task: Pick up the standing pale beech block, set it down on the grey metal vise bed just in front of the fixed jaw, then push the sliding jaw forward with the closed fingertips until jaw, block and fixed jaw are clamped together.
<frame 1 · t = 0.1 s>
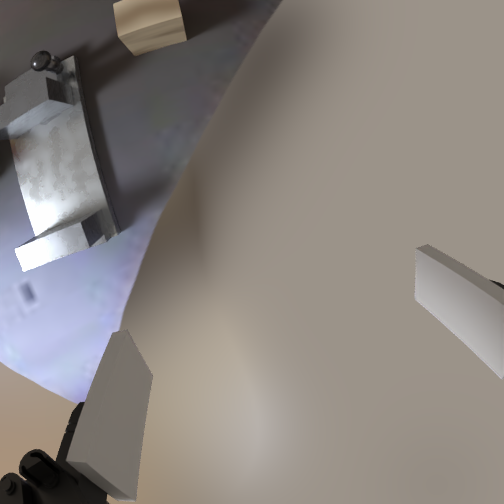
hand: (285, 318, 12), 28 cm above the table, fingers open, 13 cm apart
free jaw: (24, 92, 24), point 6 cm above the table, slide at 0.0 cm
vise bed: (55, 158, 32), on the table
block: (157, 33, 29), on the table
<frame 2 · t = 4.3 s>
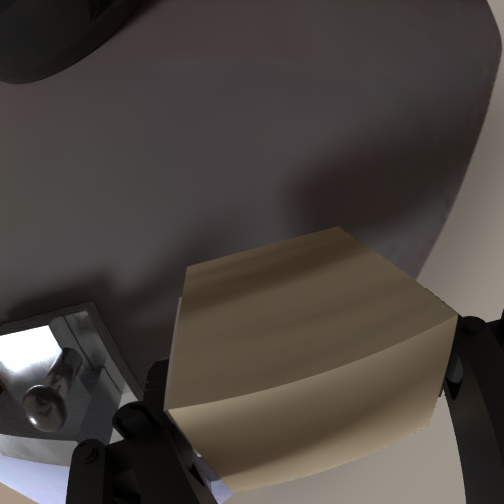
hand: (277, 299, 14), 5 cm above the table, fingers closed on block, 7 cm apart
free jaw: (27, 397, 14), point 6 cm above the table, slide at 0.0 cm
vise bed: (105, 428, 22), on the table
block: (275, 294, 14), point 5 cm above the table, touching gripper
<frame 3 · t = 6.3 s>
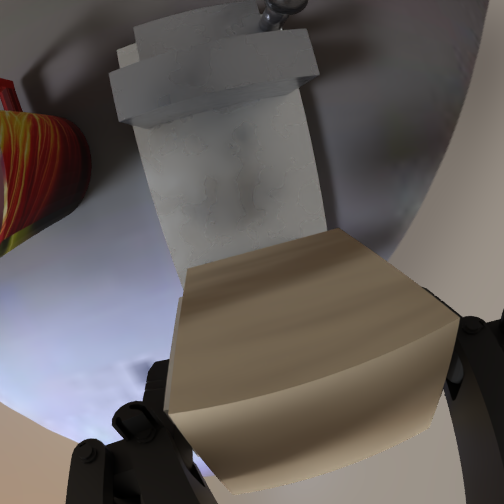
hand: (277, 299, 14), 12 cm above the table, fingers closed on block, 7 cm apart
mug: (33, 157, 20), on the table
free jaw: (211, 42, 15), point 6 cm above the table, slide at 0.0 cm
vise bed: (233, 175, 23), on the table
block: (276, 296, 14), point 12 cm above the table, touching gripper
when the fingers open (3 cm above the table, at t = 8.3 s): block stays where it is, resting on vise bed.
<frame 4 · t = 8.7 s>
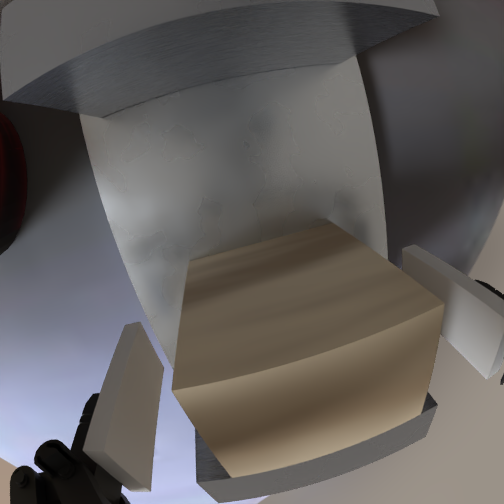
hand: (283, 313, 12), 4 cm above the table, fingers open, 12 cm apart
vise bed: (247, 194, 14), on the table
block: (273, 288, 15), point 1 cm above the table, touching vise bed
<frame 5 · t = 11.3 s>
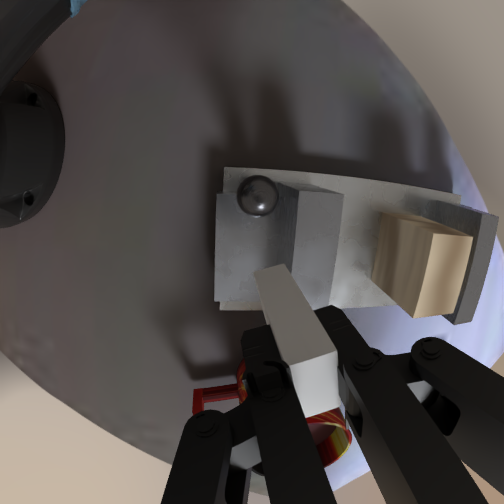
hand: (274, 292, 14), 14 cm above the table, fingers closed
mug: (262, 380, 33), on the table
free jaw: (269, 254, 22), point 6 cm above the table, slide at 0.0 cm
vise bed: (353, 242, 29), on the table
block: (397, 248, 28), point 1 cm above the table, touching vise bed
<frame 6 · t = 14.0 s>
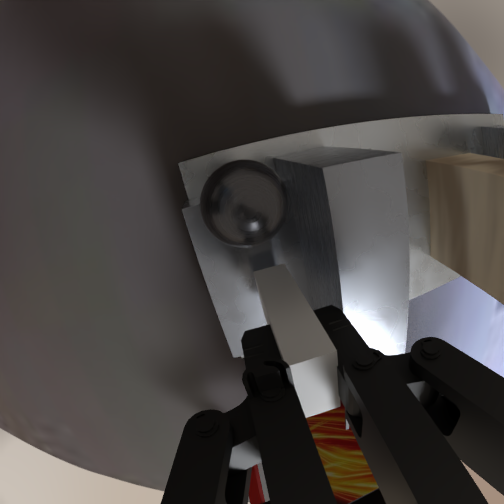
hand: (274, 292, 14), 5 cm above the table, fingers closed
mug: (318, 408, 25), on the table
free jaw: (295, 282, 13), point 6 cm above the table, slide at 0.3 cm, touching gripper
vise bed: (396, 212, 19), on the table
block: (452, 203, 18), point 1 cm above the table, touching vise bed
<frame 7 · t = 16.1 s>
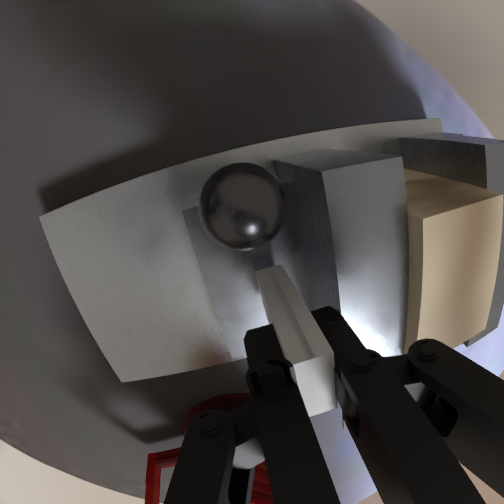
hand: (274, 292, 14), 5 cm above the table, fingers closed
mug: (223, 434, 25), on the table
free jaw: (294, 285, 13), point 6 cm above the table, slide at 9.5 cm, touching block, gripper
vise bed: (271, 250, 18), on the table
block: (376, 230, 17), point 2 cm above the table, touching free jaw, vise bed
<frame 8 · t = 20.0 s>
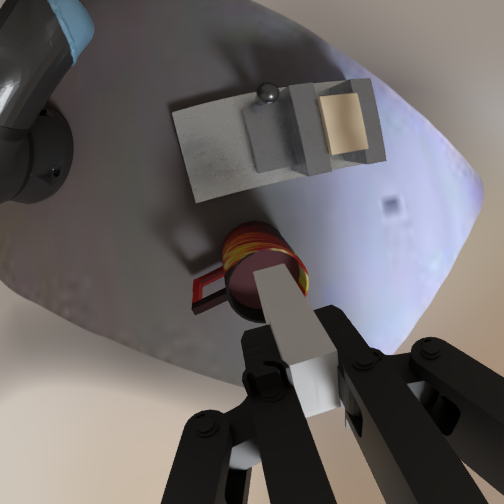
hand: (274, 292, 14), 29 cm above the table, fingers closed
mug: (244, 262, 46), on the table
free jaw: (284, 130, 34), point 6 cm above the table, slide at 9.5 cm
vise bed: (275, 134, 39), on the table
block: (321, 126, 38), point 1 cm above the table, touching vise bed
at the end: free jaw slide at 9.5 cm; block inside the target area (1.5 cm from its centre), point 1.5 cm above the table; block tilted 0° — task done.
